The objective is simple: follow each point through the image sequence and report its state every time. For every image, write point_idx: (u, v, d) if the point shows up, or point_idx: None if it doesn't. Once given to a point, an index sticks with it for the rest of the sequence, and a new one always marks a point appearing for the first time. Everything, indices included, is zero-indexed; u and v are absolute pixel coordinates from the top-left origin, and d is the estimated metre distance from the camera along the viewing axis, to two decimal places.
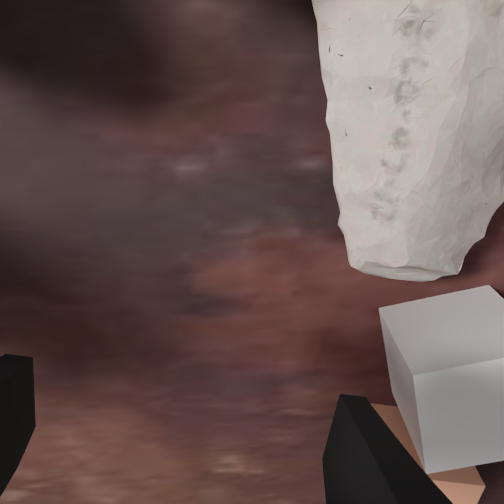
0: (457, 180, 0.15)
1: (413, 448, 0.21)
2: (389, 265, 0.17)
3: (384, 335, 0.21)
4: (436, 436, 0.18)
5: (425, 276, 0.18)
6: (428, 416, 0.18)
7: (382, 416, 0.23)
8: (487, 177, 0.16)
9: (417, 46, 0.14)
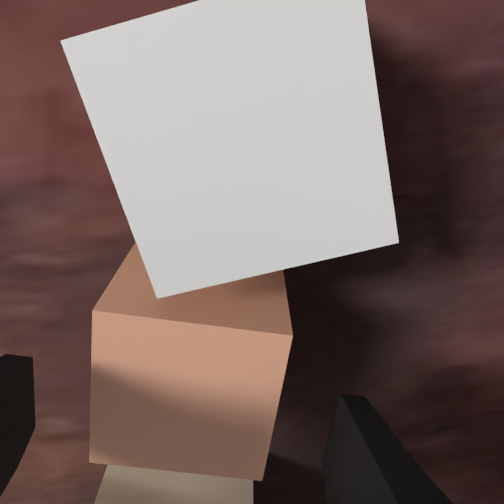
0: None
1: None
2: None
3: None
4: (155, 206, 0.09)
5: None
6: (124, 153, 0.08)
7: None
8: None
9: None
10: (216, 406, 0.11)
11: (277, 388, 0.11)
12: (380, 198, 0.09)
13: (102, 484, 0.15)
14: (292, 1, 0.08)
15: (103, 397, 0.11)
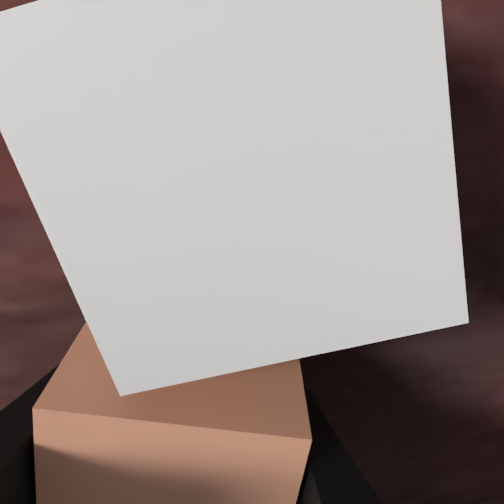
0: None
1: None
2: None
3: None
4: (112, 273, 0.06)
5: None
6: (62, 198, 0.06)
7: None
8: None
9: None
10: None
11: None
12: (445, 262, 0.06)
13: None
14: None
15: None
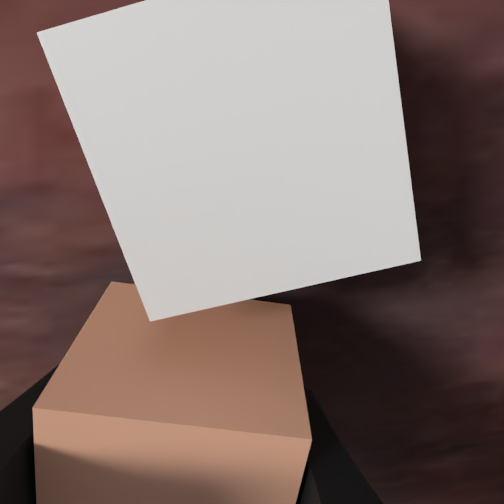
0: None
1: (168, 359, 0.09)
2: None
3: None
4: (147, 220, 0.08)
5: None
6: (111, 161, 0.07)
7: (140, 305, 0.11)
8: None
9: None
10: None
11: (289, 503, 0.08)
12: (401, 211, 0.08)
13: None
14: None
15: None
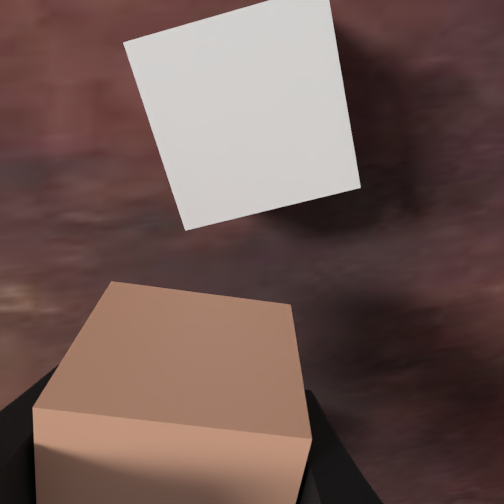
0: None
1: (168, 359, 0.09)
2: None
3: None
4: (185, 160, 0.12)
5: None
6: (164, 122, 0.12)
7: (140, 305, 0.11)
8: None
9: None
10: None
11: (289, 503, 0.08)
12: (346, 154, 0.12)
13: None
14: (282, 15, 0.11)
15: None
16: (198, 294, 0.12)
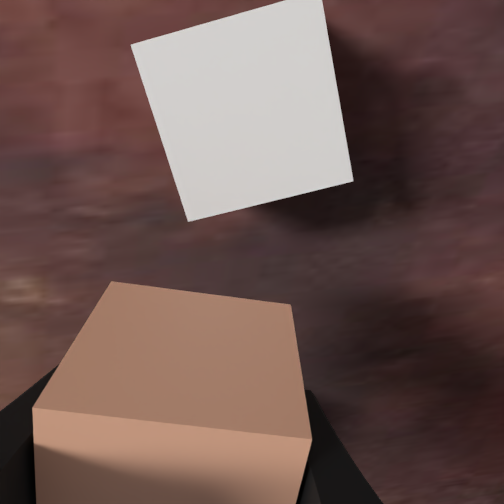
0: None
1: (168, 359, 0.09)
2: None
3: None
4: (188, 155, 0.13)
5: None
6: (169, 119, 0.13)
7: (140, 305, 0.11)
8: None
9: None
10: None
11: (289, 503, 0.08)
12: (339, 149, 0.13)
13: None
14: (279, 19, 0.12)
15: None
16: (198, 294, 0.12)
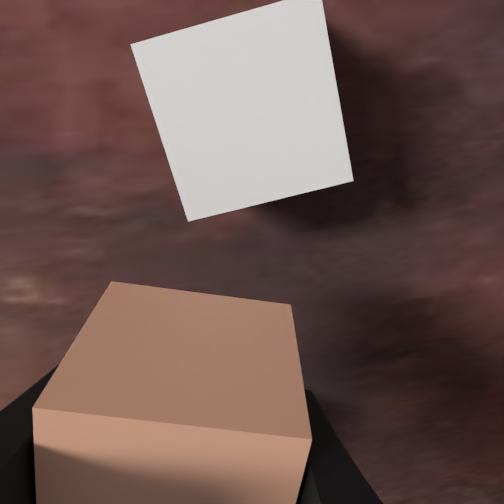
0: None
1: (168, 359, 0.09)
2: None
3: None
4: (188, 155, 0.13)
5: None
6: (168, 119, 0.13)
7: (140, 305, 0.11)
8: None
9: None
10: None
11: (289, 503, 0.08)
12: (339, 149, 0.13)
13: None
14: (279, 19, 0.12)
15: None
16: (198, 294, 0.12)
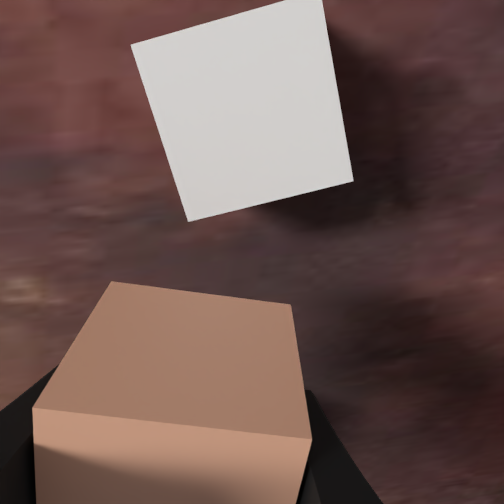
0: None
1: (168, 359, 0.09)
2: None
3: None
4: (188, 155, 0.13)
5: None
6: (168, 119, 0.13)
7: (140, 305, 0.11)
8: None
9: None
10: None
11: (289, 503, 0.08)
12: (339, 149, 0.13)
13: None
14: (279, 19, 0.12)
15: None
16: (198, 294, 0.12)
